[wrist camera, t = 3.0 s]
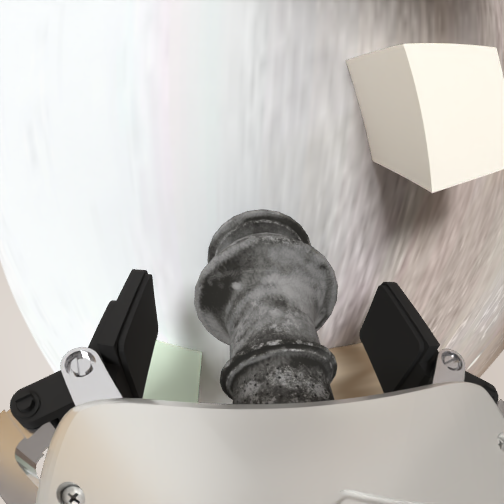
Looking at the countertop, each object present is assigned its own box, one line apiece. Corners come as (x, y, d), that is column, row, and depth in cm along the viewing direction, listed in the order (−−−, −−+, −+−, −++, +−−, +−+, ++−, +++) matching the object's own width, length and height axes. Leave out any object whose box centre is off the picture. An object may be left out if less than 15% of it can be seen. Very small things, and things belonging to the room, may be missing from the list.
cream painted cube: (427, 52, 10) (496, 47, 5) (446, 141, 12) (512, 166, 8) (344, 60, 10) (403, 43, 6) (371, 160, 13) (432, 193, 8)
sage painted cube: (202, 351, 18) (197, 416, 14) (186, 389, 20) (181, 445, 16) (128, 330, 17) (107, 392, 12) (124, 372, 19) (109, 427, 15)
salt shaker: (322, 290, 16) (398, 501, 5) (221, 313, 16) (220, 534, 6) (307, 190, 13) (468, 446, 3) (185, 221, 13) (110, 503, 3)
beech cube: (375, 339, 19) (401, 393, 14) (362, 379, 21) (380, 428, 17) (308, 350, 18) (324, 412, 14) (304, 390, 21) (315, 443, 17)
